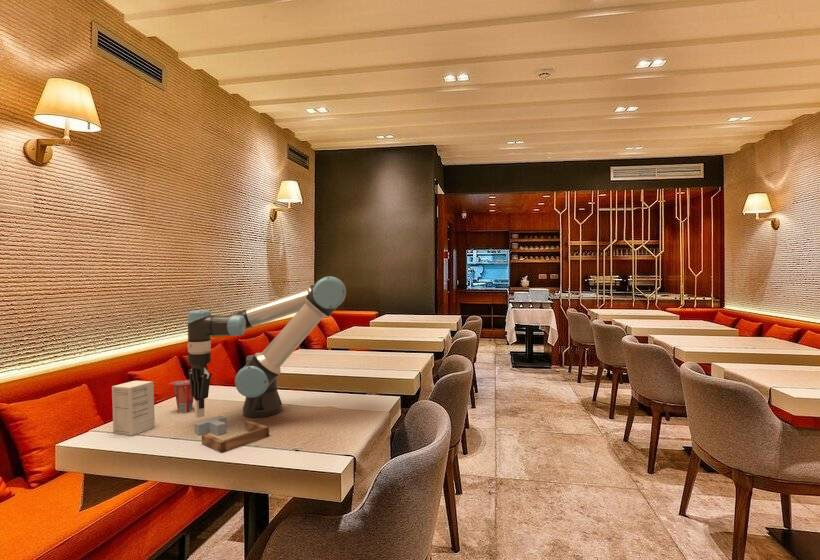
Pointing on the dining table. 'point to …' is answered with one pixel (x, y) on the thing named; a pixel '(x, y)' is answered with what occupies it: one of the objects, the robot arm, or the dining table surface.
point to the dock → (237, 437)
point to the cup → (183, 396)
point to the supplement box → (133, 407)
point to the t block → (211, 426)
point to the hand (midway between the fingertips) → (199, 416)
